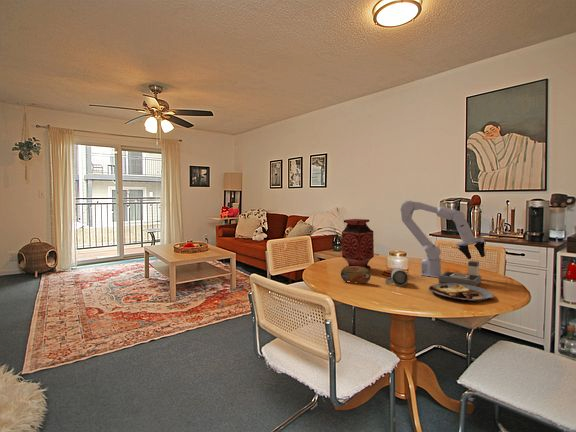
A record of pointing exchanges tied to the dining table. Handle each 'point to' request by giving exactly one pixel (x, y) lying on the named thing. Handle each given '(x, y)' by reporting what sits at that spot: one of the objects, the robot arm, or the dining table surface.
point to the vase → (357, 243)
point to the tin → (355, 274)
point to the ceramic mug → (398, 277)
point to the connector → (473, 268)
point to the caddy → (460, 278)
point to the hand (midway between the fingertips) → (476, 257)
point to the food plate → (461, 291)
